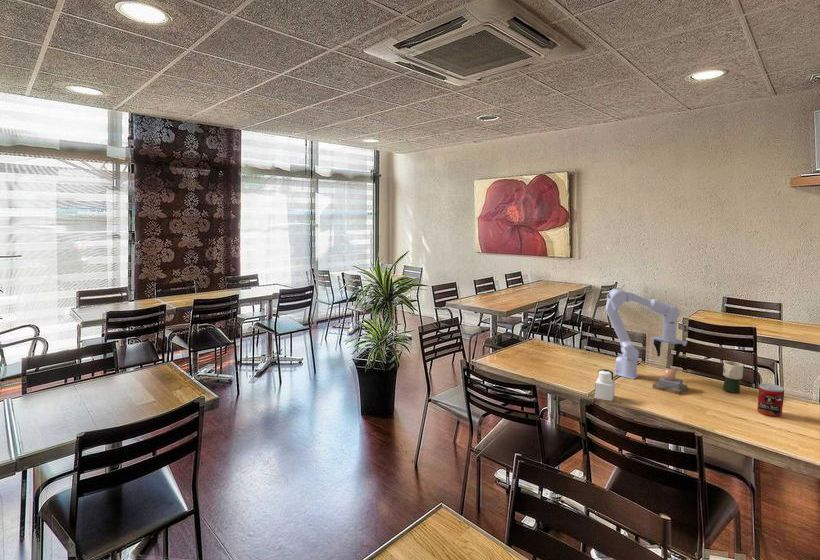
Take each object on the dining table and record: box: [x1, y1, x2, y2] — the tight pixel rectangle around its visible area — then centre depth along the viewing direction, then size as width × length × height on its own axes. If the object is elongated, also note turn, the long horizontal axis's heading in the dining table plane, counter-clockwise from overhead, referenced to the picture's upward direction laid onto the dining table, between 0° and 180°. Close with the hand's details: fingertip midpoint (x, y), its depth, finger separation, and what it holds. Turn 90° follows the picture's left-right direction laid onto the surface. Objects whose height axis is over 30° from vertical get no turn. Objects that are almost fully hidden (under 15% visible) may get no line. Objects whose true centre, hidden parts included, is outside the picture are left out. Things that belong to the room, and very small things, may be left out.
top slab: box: [658, 375, 684, 390], centre depth 202 cm, size 8×8×2 cm
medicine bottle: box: [594, 368, 616, 402], centre depth 192 cm, size 7×7×12 cm
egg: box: [663, 368, 677, 381], centre depth 202 cm, size 4×4×4 cm
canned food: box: [756, 383, 785, 418], centre depth 174 cm, size 8×8×11 cm
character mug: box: [722, 360, 744, 393], centre depth 197 cm, size 11×7×13 cm, turn 129°
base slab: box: [652, 380, 689, 396], centre depth 202 cm, size 11×11×2 cm
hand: (667, 357), depth 214 cm, fingers open, 7 cm apart
